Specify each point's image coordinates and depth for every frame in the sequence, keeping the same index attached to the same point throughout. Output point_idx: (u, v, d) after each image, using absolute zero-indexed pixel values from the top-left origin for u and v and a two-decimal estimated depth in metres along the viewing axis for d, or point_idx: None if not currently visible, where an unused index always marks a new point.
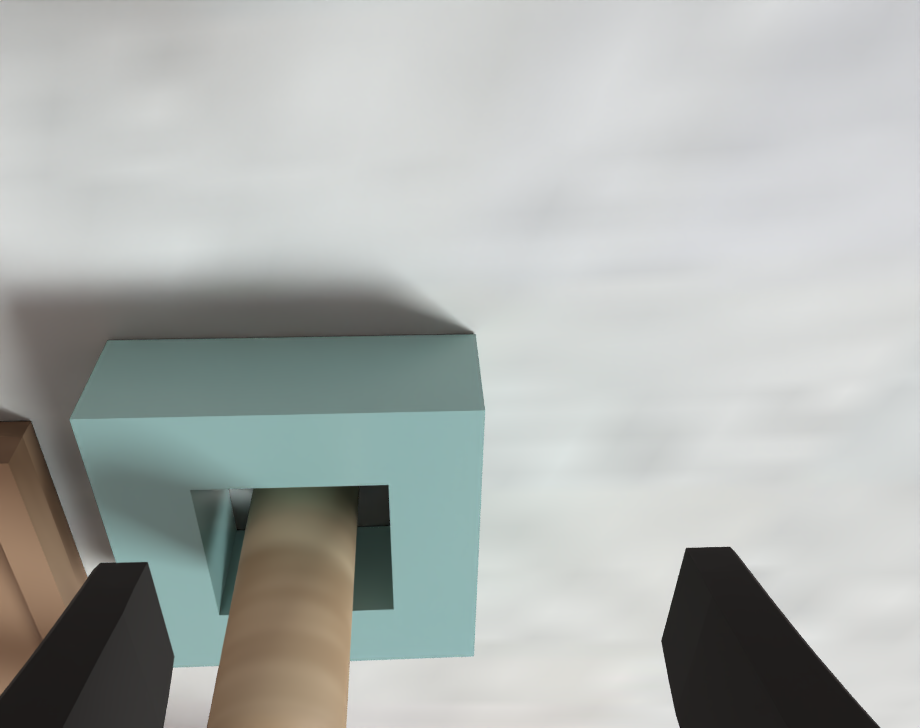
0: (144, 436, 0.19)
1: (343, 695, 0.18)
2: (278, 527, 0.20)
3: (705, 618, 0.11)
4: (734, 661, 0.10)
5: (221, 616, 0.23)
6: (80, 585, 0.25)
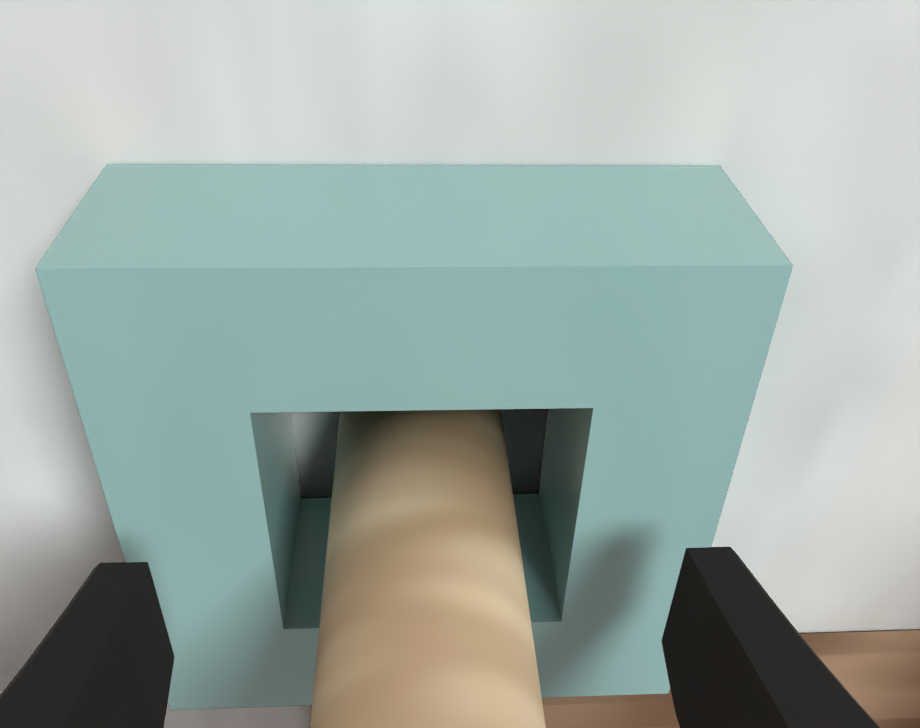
0: (187, 658, 0.14)
1: None
2: None
3: (705, 618, 0.11)
4: (734, 661, 0.10)
5: (563, 619, 0.14)
6: None
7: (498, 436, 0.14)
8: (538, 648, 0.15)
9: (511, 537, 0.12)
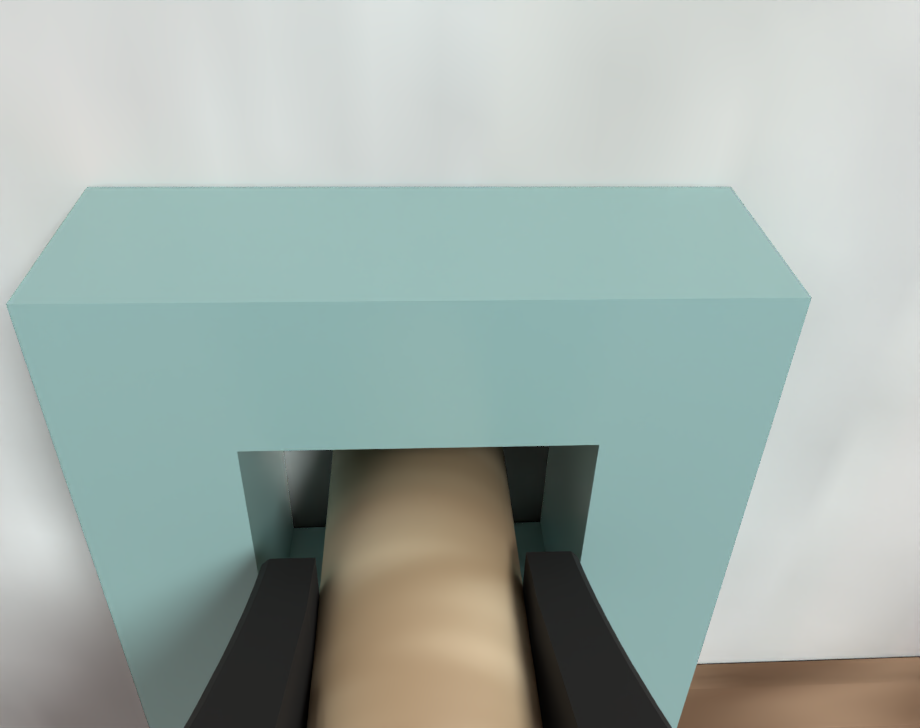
0: (174, 700, 0.14)
1: None
2: None
3: (535, 623, 0.11)
4: (550, 667, 0.10)
5: None
6: None
7: (499, 469, 0.13)
8: None
9: (513, 580, 0.11)
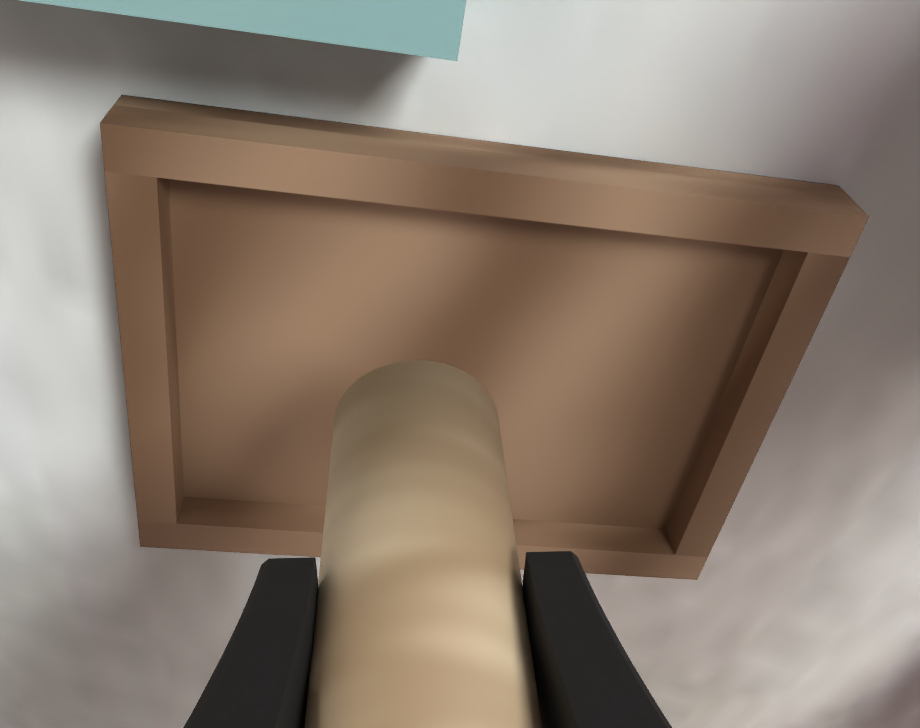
0: None
1: None
2: None
3: (535, 623, 0.11)
4: (550, 667, 0.10)
5: None
6: (406, 139, 0.18)
7: (495, 462, 0.13)
8: None
9: (510, 573, 0.11)
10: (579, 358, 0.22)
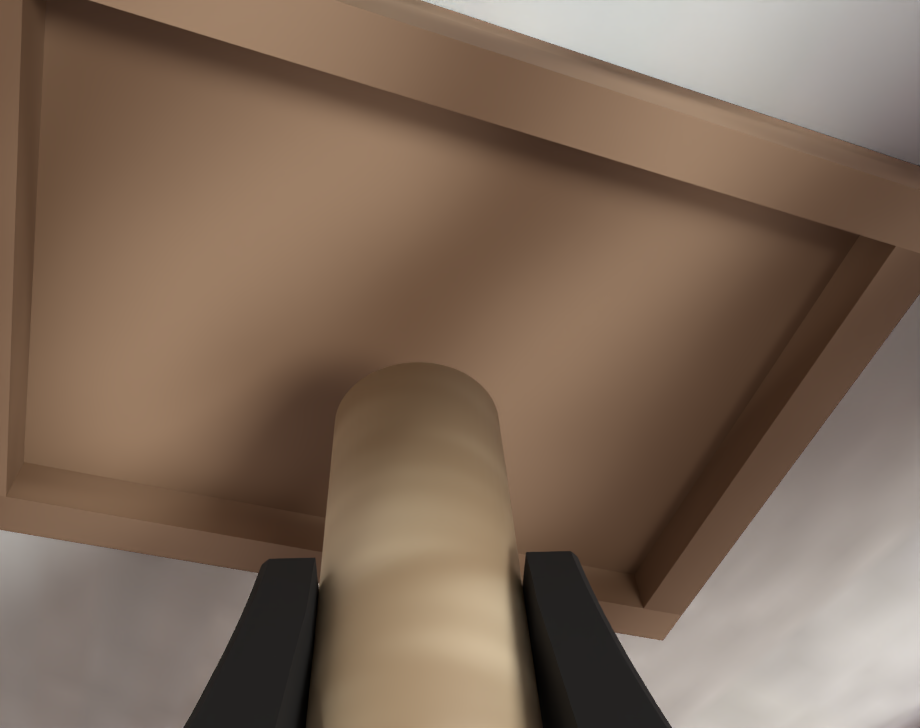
0: None
1: None
2: None
3: (535, 623, 0.11)
4: (550, 667, 0.10)
5: None
6: (399, 1, 0.13)
7: (496, 463, 0.13)
8: None
9: (510, 575, 0.11)
10: (573, 347, 0.17)
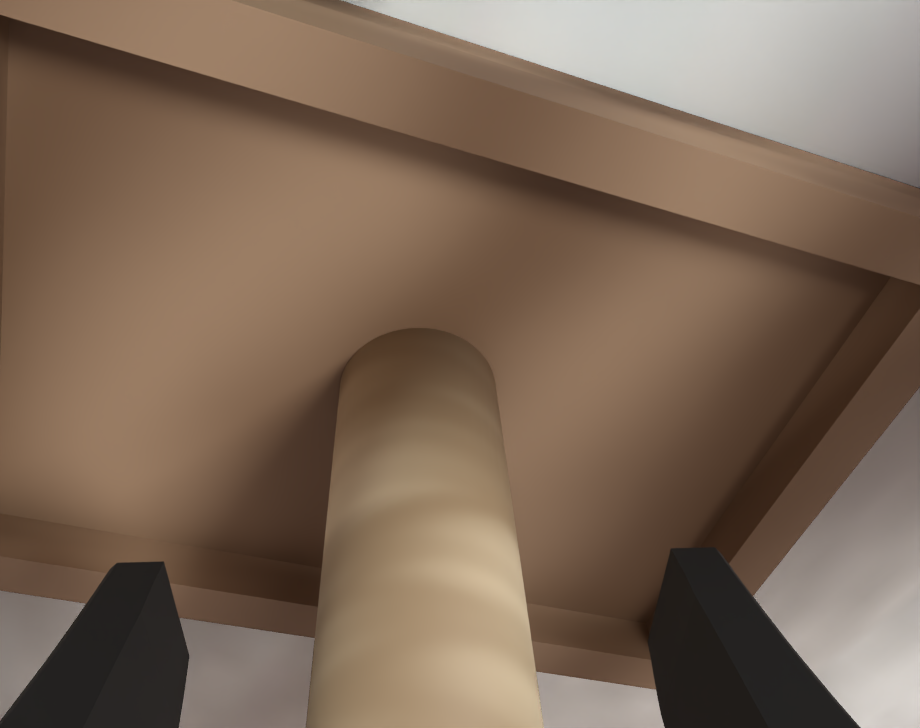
0: None
1: (380, 726, 0.09)
2: None
3: (689, 619, 0.11)
4: (717, 662, 0.10)
5: None
6: (396, 28, 0.12)
7: (492, 420, 0.14)
8: None
9: (504, 518, 0.12)
10: (583, 392, 0.16)
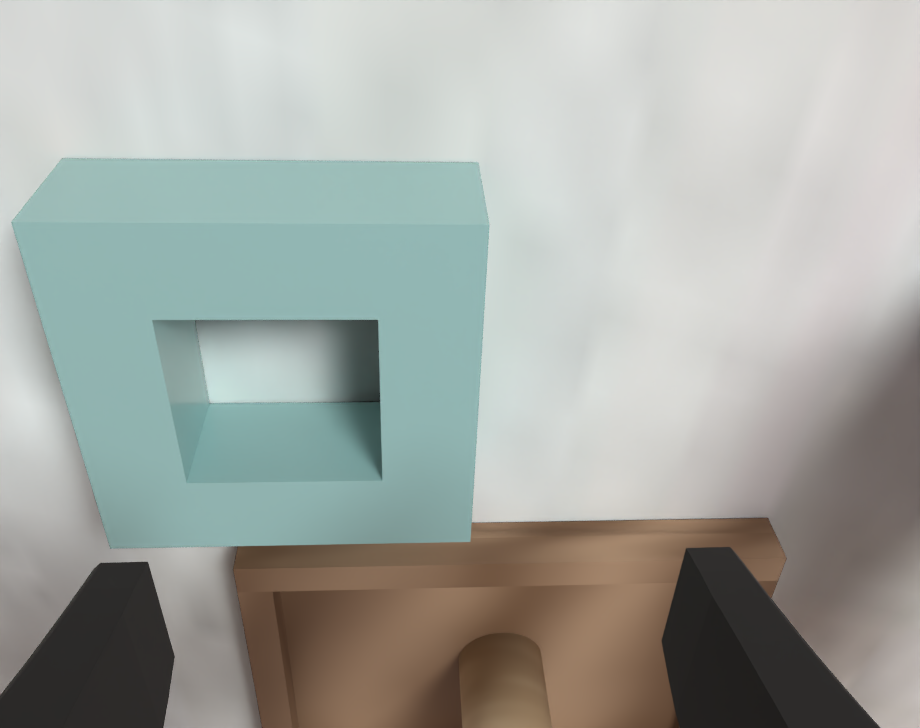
0: (120, 505, 0.21)
1: None
2: None
3: (705, 618, 0.11)
4: (734, 661, 0.10)
5: (383, 479, 0.21)
6: None
7: (534, 685, 0.27)
8: (369, 502, 0.21)
9: None
10: (587, 641, 0.29)
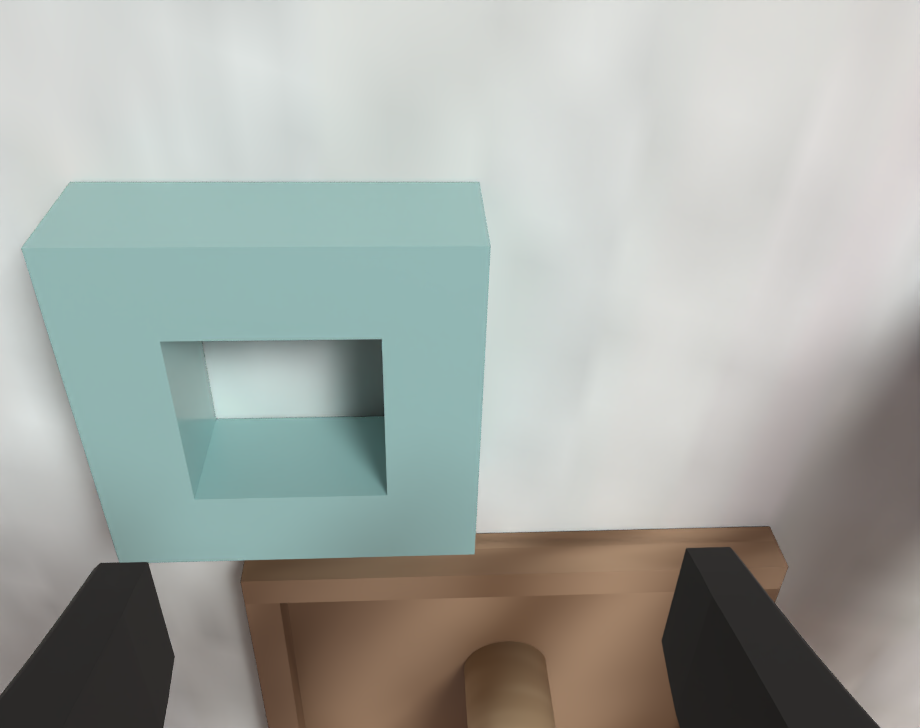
0: (129, 521, 0.21)
1: None
2: None
3: (705, 618, 0.11)
4: (734, 661, 0.10)
5: (388, 493, 0.21)
6: None
7: (539, 693, 0.27)
8: (375, 516, 0.21)
9: None
10: (592, 648, 0.29)
